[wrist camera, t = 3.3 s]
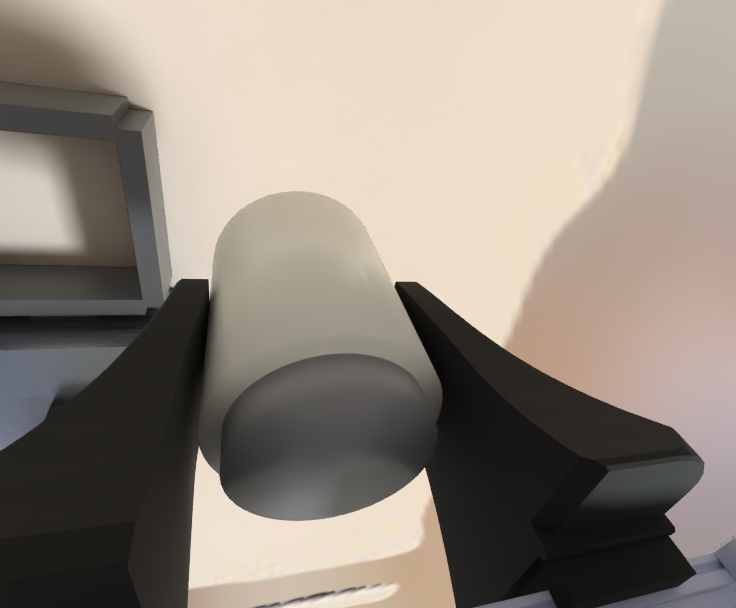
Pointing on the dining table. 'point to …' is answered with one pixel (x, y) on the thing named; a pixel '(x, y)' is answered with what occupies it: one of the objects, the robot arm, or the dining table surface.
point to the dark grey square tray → (143, 197)
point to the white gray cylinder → (311, 365)
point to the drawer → (55, 362)
